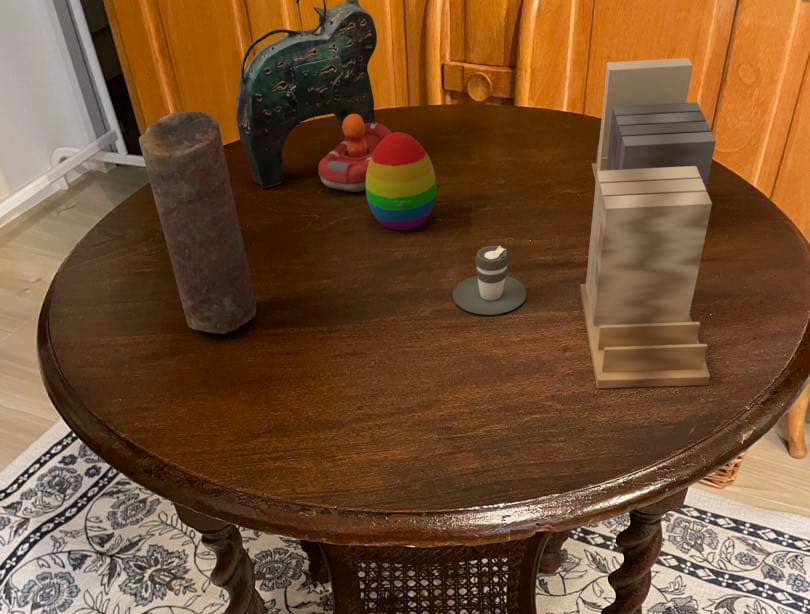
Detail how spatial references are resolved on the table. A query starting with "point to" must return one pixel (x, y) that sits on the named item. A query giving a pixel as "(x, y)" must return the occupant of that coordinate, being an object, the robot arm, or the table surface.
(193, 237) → the brown textured cylinder
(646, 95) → the cream book
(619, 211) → the cream rack
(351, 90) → the ceramic cat
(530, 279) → the table surface
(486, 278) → the coffee cup
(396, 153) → the decorative egg
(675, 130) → the grey rack
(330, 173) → the toy boat
